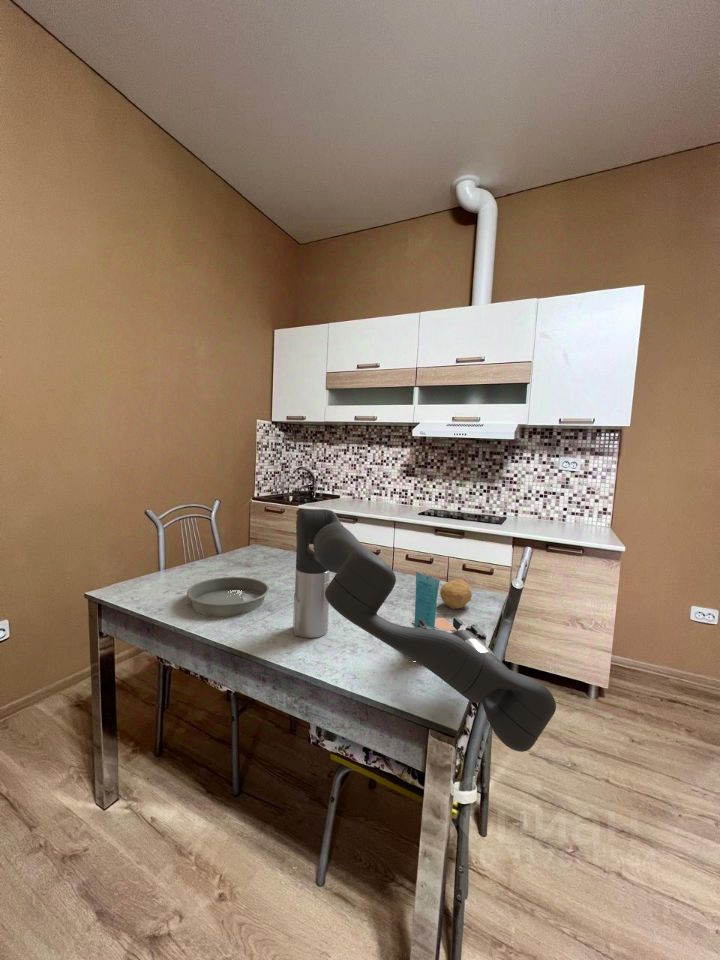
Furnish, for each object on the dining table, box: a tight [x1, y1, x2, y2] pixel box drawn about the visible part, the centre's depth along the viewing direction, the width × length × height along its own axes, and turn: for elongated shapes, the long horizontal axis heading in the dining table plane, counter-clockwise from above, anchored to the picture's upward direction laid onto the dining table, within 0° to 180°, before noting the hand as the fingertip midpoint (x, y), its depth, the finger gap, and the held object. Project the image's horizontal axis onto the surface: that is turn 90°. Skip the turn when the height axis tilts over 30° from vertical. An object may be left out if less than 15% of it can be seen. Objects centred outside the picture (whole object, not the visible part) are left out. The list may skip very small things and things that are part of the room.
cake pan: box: [186, 576, 270, 617], centre depth 128 cm, size 25×25×4 cm
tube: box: [413, 571, 441, 628], centre depth 102 cm, size 7×5×19 cm, turn 47°
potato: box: [439, 578, 473, 609], centre depth 133 cm, size 10×14×8 cm
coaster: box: [412, 617, 456, 630], centre depth 116 cm, size 10×10×1 cm
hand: (437, 622), depth 95 cm, fingers open, 8 cm apart
